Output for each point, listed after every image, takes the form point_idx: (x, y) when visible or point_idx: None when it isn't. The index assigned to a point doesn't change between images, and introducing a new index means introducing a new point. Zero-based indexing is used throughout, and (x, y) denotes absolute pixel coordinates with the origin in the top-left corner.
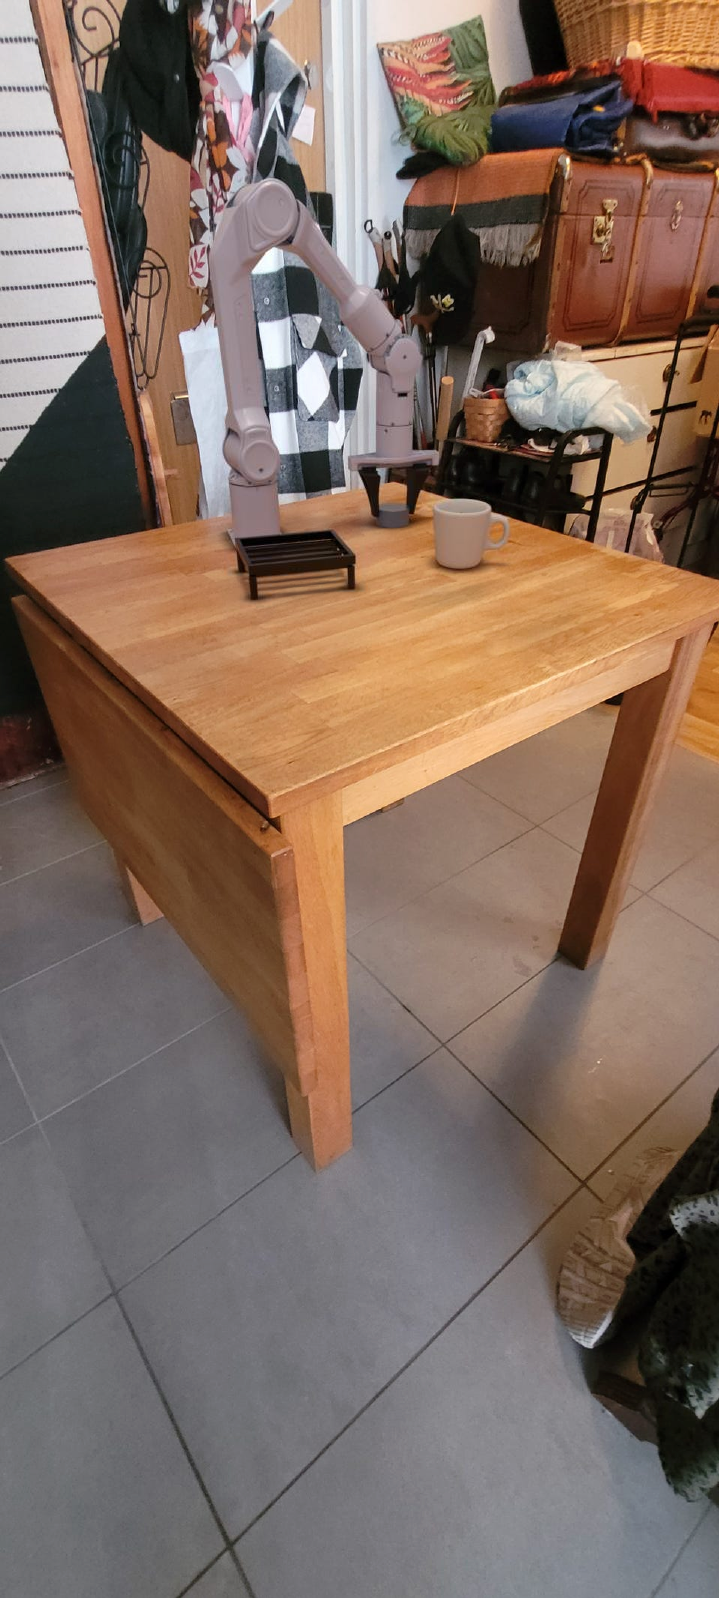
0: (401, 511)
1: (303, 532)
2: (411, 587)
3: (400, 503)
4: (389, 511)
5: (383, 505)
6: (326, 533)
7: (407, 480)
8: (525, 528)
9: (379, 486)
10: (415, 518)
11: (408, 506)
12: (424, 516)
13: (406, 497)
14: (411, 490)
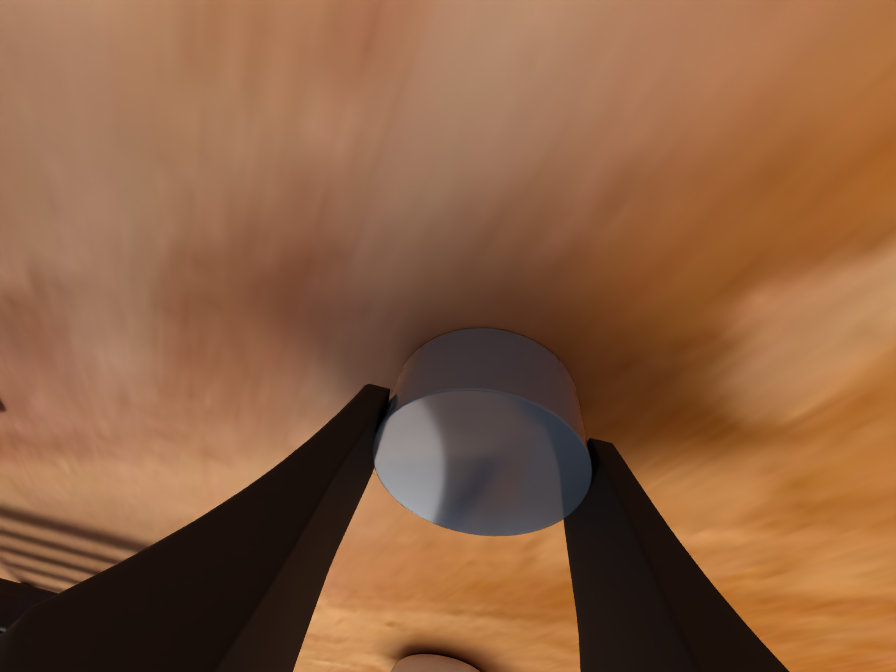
0: (476, 532)
1: (4, 629)
2: (303, 666)
3: (571, 449)
4: (414, 512)
5: (439, 427)
6: None
7: (666, 661)
8: (875, 663)
9: (295, 661)
10: (652, 400)
11: (565, 511)
12: (731, 398)
13: (618, 501)
14: (598, 629)
